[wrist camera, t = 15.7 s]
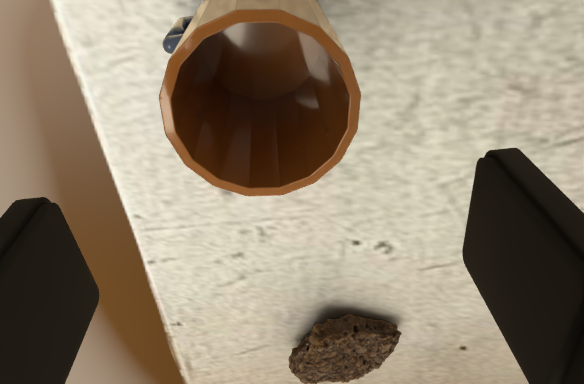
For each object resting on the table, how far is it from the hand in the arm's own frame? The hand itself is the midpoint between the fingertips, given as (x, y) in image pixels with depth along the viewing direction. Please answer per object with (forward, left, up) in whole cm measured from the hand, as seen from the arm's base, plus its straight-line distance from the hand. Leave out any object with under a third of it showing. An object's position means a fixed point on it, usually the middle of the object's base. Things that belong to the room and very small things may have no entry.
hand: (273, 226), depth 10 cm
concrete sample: (+30, +21, -25) cm, 45 cm away
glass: (0, 0, -17) cm, 17 cm away
